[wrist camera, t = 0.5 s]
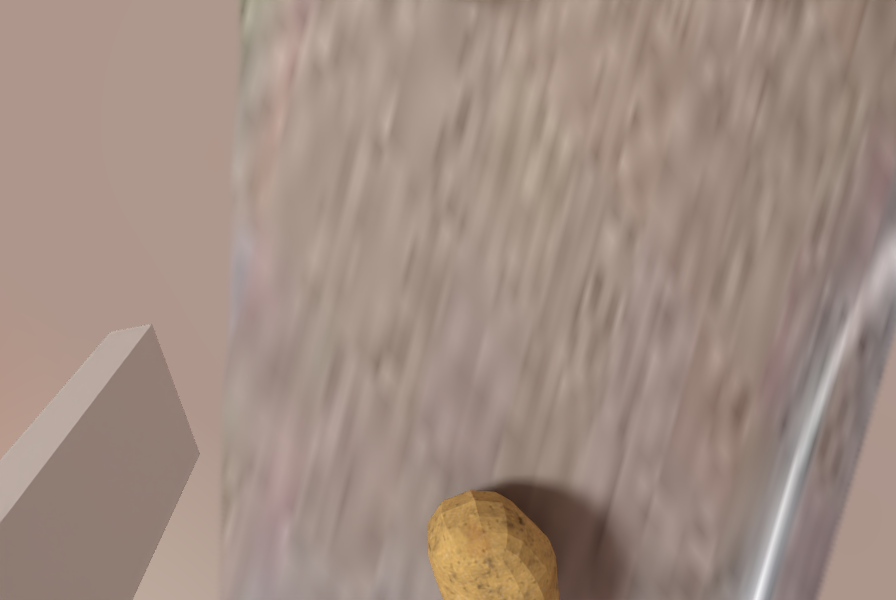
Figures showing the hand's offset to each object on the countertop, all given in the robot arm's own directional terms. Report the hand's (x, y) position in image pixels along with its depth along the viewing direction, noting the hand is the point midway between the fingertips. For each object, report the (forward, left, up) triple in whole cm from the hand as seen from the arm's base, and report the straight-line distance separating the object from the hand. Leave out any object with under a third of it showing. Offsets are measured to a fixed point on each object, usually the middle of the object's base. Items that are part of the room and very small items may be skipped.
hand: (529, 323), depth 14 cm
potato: (+25, -6, -27) cm, 37 cm away
